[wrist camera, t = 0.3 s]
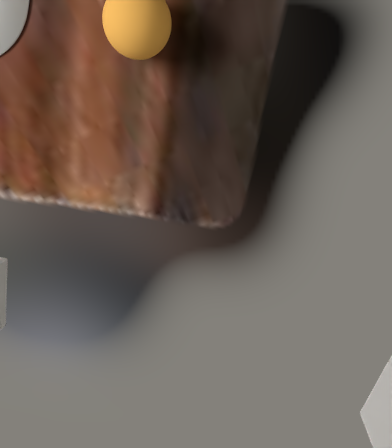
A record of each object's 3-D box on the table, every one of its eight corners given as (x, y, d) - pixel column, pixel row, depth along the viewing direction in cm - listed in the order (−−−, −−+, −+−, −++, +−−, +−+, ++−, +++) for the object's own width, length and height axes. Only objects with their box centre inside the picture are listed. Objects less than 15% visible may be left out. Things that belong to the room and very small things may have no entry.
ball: (119, -17, 31) (96, -35, 26) (181, -1, 31) (171, -17, 26) (110, 53, 33) (88, 48, 28) (169, 67, 33) (157, 65, 28)
